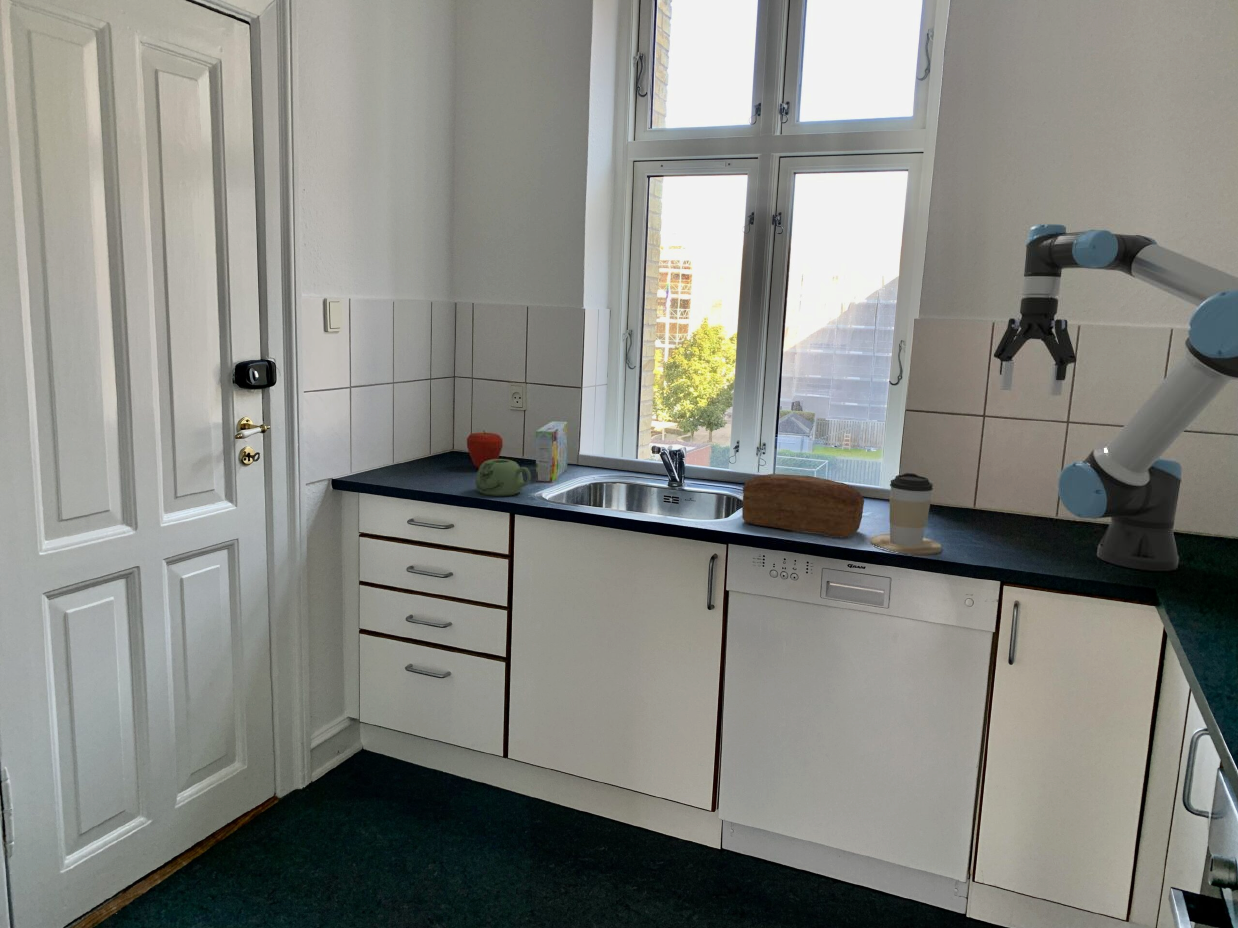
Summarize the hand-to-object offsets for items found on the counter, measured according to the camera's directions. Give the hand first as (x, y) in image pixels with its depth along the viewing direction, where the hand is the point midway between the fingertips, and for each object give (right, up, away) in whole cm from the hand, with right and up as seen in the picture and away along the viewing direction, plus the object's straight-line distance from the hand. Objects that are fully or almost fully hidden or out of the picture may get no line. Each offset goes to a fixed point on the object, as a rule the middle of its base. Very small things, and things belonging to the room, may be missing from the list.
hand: (1029, 392), depth 199 cm
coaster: (-29, -34, -3) cm, 45 cm away
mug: (-123, -24, +37) cm, 131 cm away
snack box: (-113, -20, +64) cm, 131 cm away
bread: (-50, -32, +11) cm, 60 cm away
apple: (-134, -18, +70) cm, 152 cm away
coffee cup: (-29, -34, -3) cm, 45 cm away
